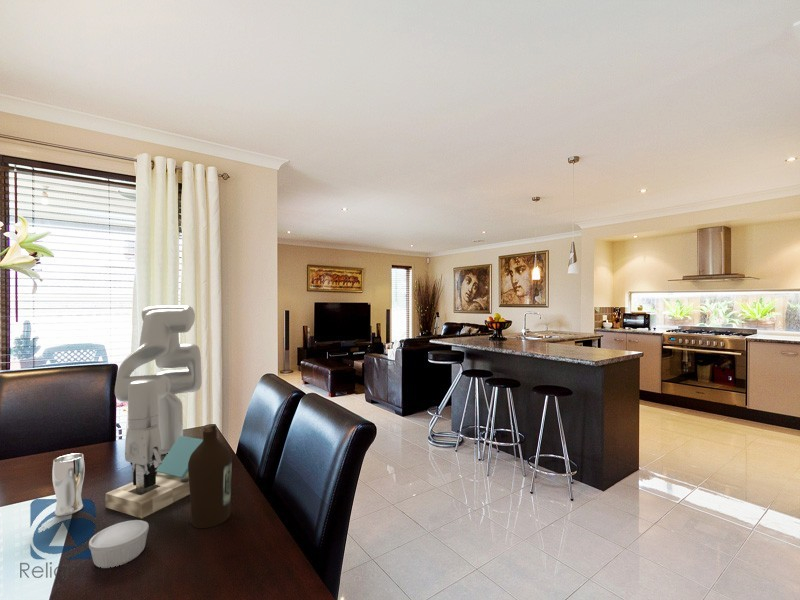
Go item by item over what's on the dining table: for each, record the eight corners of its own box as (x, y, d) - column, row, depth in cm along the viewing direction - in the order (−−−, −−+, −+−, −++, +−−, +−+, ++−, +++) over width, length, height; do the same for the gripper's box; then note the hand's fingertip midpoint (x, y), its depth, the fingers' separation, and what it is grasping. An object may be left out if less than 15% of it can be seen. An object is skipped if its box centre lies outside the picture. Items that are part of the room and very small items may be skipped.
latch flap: (157, 472, 123) (155, 470, 122) (181, 436, 131) (179, 435, 130) (183, 478, 118) (181, 476, 118) (207, 441, 126) (205, 439, 126)
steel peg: (133, 497, 112) (132, 462, 112) (146, 491, 116) (146, 457, 116) (142, 499, 111) (141, 464, 111) (155, 493, 114) (155, 459, 114)
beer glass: (91, 505, 112) (90, 454, 112) (64, 518, 105) (63, 463, 105) (73, 503, 114) (72, 452, 114) (46, 515, 107) (45, 461, 107)
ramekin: (86, 556, 89) (85, 533, 89) (143, 535, 97) (142, 514, 97) (92, 580, 81) (92, 554, 81) (154, 555, 89) (153, 532, 89)
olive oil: (183, 533, 97) (182, 433, 98) (194, 511, 108) (193, 421, 108) (229, 526, 100) (227, 429, 100) (235, 505, 110) (234, 418, 111)
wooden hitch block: (105, 507, 111) (105, 489, 111) (176, 475, 131) (176, 460, 131) (142, 518, 104) (142, 499, 105) (211, 483, 125) (210, 467, 125)
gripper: (112, 423, 113) (113, 485, 113) (149, 429, 107) (150, 495, 107) (138, 416, 120) (139, 475, 120) (175, 421, 114) (175, 483, 113)
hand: (144, 484), depth 113 cm, fingers closed on steel peg, 4 cm apart
